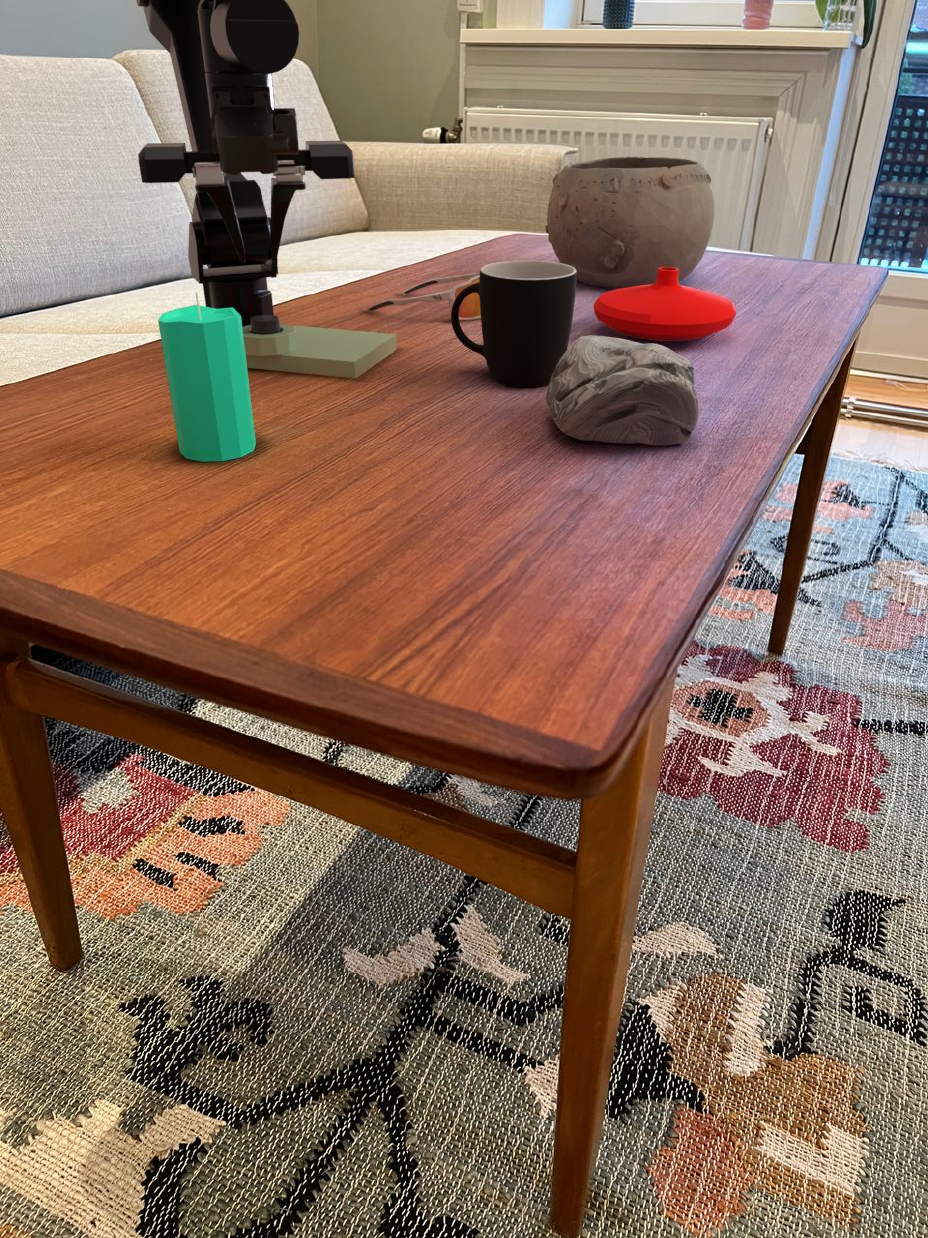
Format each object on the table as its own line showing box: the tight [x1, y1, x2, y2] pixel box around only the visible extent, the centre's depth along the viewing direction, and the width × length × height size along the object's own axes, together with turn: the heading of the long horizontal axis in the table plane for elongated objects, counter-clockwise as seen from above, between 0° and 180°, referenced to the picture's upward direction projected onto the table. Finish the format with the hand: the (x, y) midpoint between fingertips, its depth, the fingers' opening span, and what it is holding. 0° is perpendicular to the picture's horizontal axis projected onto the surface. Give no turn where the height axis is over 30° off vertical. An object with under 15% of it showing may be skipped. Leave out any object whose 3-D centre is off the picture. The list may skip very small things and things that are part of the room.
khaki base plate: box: [242, 323, 398, 379], centre depth 95 cm, size 13×12×4 cm
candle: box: [157, 291, 257, 463], centre depth 71 cm, size 6×6×12 cm
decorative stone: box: [545, 334, 700, 446], centre depth 76 cm, size 15×14×10 cm
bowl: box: [544, 156, 716, 289], centre depth 128 cm, size 23×23×15 cm
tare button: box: [250, 314, 281, 335], centre depth 92 cm, size 3×3×2 cm
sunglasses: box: [367, 271, 481, 321], centre depth 115 cm, size 14×15×5 cm
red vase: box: [592, 267, 737, 342], centre depth 103 cm, size 16×16×7 cm
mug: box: [450, 259, 578, 388], centre depth 88 cm, size 12×9×10 cm
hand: (258, 261), depth 89 cm, fingers open, 3 cm apart
